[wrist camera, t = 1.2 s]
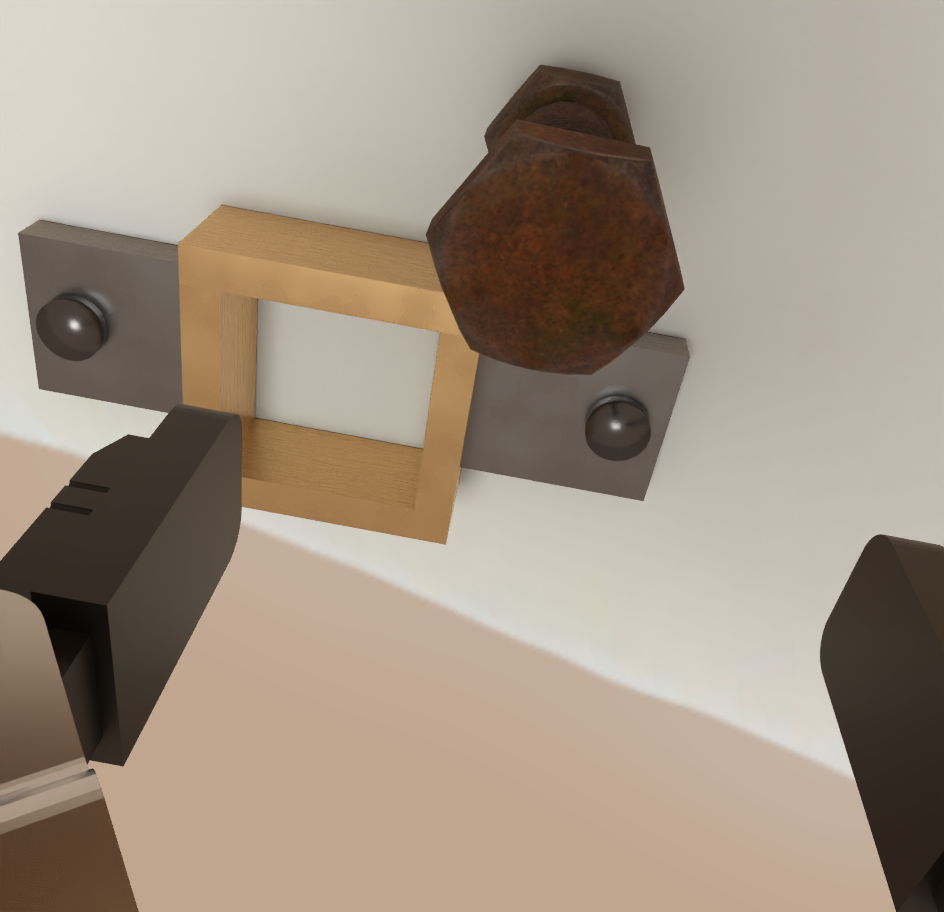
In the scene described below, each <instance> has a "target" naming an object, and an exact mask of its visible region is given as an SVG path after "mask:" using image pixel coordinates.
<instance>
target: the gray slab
mask: <svg viewBox="0 0 944 912" xmlns="http://www.w3.org/2000/svg"><path fill="white" fill-rule="evenodd" d="M18 235H19V242H20V250H21V257H22V265H23V272H24V280H25V287H26V295H27V302H28V310H29V317H30V325H31V332H32V340H33V347H34V355H35V362H36V370H37V377H38V385H39V389H42V390H48V391H53V392H58V393H64V394H69V395H75V396H80V397H85V398H91V399H96V400H102V401H107V402H112V403H118V404H123V405H129V406H134V407H139V408H145V409H150V410H156V411H161V412H166V413H169V412H170V411H171V410H172V408H173V407H174V406H176V405H177V404H183V391H182V359H181V328H180V296H179V264H178V246H177V245H172V244H167V243H161V242H156V241H150V240H145V239H140V238H134V237H129V236H123V235H118V234H112V233H107V232H102V231H96V230H91V229H85V228H80V227H75V226H69V225H64V224H58V223H53V222H47V221H42V220H38V221H37V222H35V223H34V224H32V225H30V226H29V227H27V228H25V229H24V230H22V231H21V232H19V233H18Z"/></svg>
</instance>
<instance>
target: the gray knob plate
mask: <svg viewBox="0 0 944 912" xmlns="http://www.w3.org/2000/svg"><path fill="white" fill-rule="evenodd" d="M689 358H690V356H689V352H688V347H687V343H686V339H681V338H676V337H670V336H665V335H660V334H654V333H649V332H646V333H645V334H644V335H643V336H642V337H641V338H640V339H638V340H637V341H636V342H635V343H634V344H633V345H631V346H630V347H629V348H628V349H627V350H626V351H624V352H623V353H622V354H621V355H620V356H618V357H617V358H616V359H615V360H613V361H612V362H611V363H610V364H608V365H606V366H605V367H603V368H602V369H600V370H598V371H597V372H595V373H594V374H592V375H563V374H553V373H544V372H539V371H534V370H530V369H526V368H522V367H518V366H514V365H510V364H507V363H504V362H500V361H497V360H494V359H492V358H489V357H487V356H485V355H482V354H480V359H479V365H478V371H477V377H476V382H475V388H474V394H473V399H472V405H471V411H470V416H469V422H468V428H467V434H466V439H465V445H464V451H463V456H462V462H461V467H463V468H468V469H474V470H479V471H485V472H490V473H495V474H501V475H506V476H512V477H517V478H522V479H528V480H533V481H538V482H544V483H549V484H555V485H560V486H565V487H571V488H576V489H582V490H587V491H592V492H598V493H603V494H609V495H614V496H619V497H625V498H630V499H636V500H641V501H644V498H645V495H646V491H647V488H648V485H649V482H650V479H651V476H652V473H653V470H654V467H655V463H656V460H657V457H658V454H659V451H660V448H661V445H662V442H663V439H664V435H665V432H666V429H667V426H668V423H669V420H670V417H671V414H672V410H673V407H674V404H675V401H676V398H677V395H678V392H679V389H680V386H681V382H682V379H683V376H684V373H685V370H686V367H687V364H688V361H689Z"/></svg>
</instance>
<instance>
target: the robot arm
mask: <svg viewBox="0 0 944 912" xmlns="http://www.w3.org/2000/svg"><path fill="white" fill-rule="evenodd" d="M241 509H242V422H241V419H240V416H239V415H238V414H234V413H228V412H223V411H217V410H212V409H207V408H201V407H196V406H190V405H185V404H177V405H176V406H174V407H173V408H172V410H171V411H170V412H169V413H168V415H167V416H166V417H165V419H164V420H163V421H162V422H161V424H160V425H159V426H158V428H157V429H156V430H155V431H154V433H153V434H152V435H151V437H150V438H144V437H139V436H134V435H126V436H125V437H123V438H121V439H119V440H117V441H115V442H114V443H112V444H110V445H108V446H106V447H104V448H102V449H101V450H99V451H97V452H95V453H93V454H92V455H91V456H90V457H89V458H88V460H87V461H86V462H85V463H84V464H83V466H82V467H81V468H80V469H79V470H78V471H77V472H76V474H75V475H74V476H73V477H72V478H71V479H70V483H69V486H64V488H63V489H62V490H61V491H60V492H59V493H58V495H57V496H56V497H55V498H54V499H53V501H52V502H51V507H50V508H46V509H45V510H44V511H43V512H42V513H41V514H40V516H39V517H38V518H37V519H36V520H35V521H34V523H33V524H32V525H31V526H30V527H29V529H27V531H26V532H25V533H24V534H23V535H22V536H21V538H20V539H19V540H18V541H17V542H16V543H15V545H14V546H13V547H12V548H11V549H10V551H9V552H8V553H7V554H6V555H5V556H4V557H3V559H2V560H1V561H0V912H139V911H138V908H137V905H136V901H135V898H134V895H133V891H132V888H131V885H130V881H129V878H128V875H127V871H126V868H125V865H124V861H123V858H122V855H121V851H120V848H119V845H118V841H117V838H116V835H115V831H114V828H113V825H112V821H111V818H110V815H109V811H108V808H107V805H106V801H105V798H104V795H103V792H102V788H101V786H100V783H99V780H98V777H97V775H96V773H95V770H94V769H90V770H89V769H88V766H87V764H88V762H89V761H90V760H92V761H97V762H102V763H109V764H114V765H119V766H124V764H125V762H126V760H127V758H128V757H129V755H130V753H131V751H132V749H133V747H134V745H135V743H136V741H137V739H138V737H139V735H140V733H141V731H142V730H143V728H144V726H145V724H146V722H147V720H148V718H149V716H150V714H151V712H152V710H153V708H154V706H155V704H156V702H157V701H158V699H159V696H160V695H161V693H162V691H163V689H164V687H165V685H166V683H167V681H168V679H169V677H170V675H171V673H172V672H173V669H174V668H175V666H176V664H177V662H178V660H179V658H180V656H181V654H182V652H183V650H184V648H185V646H186V644H187V642H188V640H189V639H190V637H191V635H192V633H193V631H194V629H195V627H196V625H197V623H198V621H199V619H200V618H201V616H202V613H203V612H204V610H205V608H206V606H207V604H208V602H209V600H210V598H211V596H212V594H213V592H214V591H215V589H216V587H217V585H218V583H219V581H220V579H221V577H222V575H223V573H224V571H225V569H226V567H227V565H228V563H229V561H230V559H231V557H232V554H233V552H234V548H235V545H236V542H237V538H238V534H239V529H240V522H241ZM820 663H821V669H822V673H823V677H824V680H825V683H826V686H827V690H828V693H829V696H830V699H831V703H832V706H833V709H834V712H835V716H836V719H837V722H838V725H839V728H840V732H841V735H842V738H843V741H844V745H845V748H846V751H847V754H848V758H849V761H850V764H851V767H852V770H853V774H854V777H855V780H856V783H857V787H858V790H859V793H860V796H861V800H862V803H863V806H864V809H865V812H866V815H867V819H868V822H869V825H870V828H871V832H872V835H873V838H874V841H875V845H876V848H877V851H878V854H879V857H880V861H881V864H882V867H883V870H884V874H885V877H886V880H887V883H888V887H889V890H890V893H891V896H892V900H893V903H894V906H895V909H896V912H944V547H943V546H940V545H936V544H931V543H925V542H920V541H915V540H909V539H904V538H898V537H893V536H887V535H881V534H880V535H876V536H874V537H873V538H872V539H871V540H870V541H869V542H868V543H867V545H866V546H865V548H864V550H863V552H862V554H861V556H860V558H859V559H858V561H857V563H856V565H855V567H854V569H853V571H852V573H851V575H850V577H849V579H848V581H847V583H846V585H845V587H844V589H843V591H842V593H841V595H840V597H839V599H838V601H837V603H836V605H835V607H834V608H833V610H832V612H831V614H830V616H829V618H828V620H827V623H826V625H825V628H824V631H823V635H822V640H821V648H820Z"/></svg>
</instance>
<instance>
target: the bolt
mask: <svg viewBox="0 0 944 912" xmlns="http://www.w3.org/2000/svg"><path fill="white" fill-rule="evenodd" d="M484 137H485V141H486V144H487V148H488V152H489V153H488V154H487V155H486V156H485V157H484V159H483V160H482V161H481V162H480V163H479V164H478V166H477V167H476V168H475V169H474V170H473V172H472V173H471V174H470V175H469V176H468V177H467V179H466V180H465V181H464V182H463V183H462V185H461V186H460V187H459V188H458V189H457V190H456V192H455V193H454V194H453V195H452V196H451V197H450V199H449V200H448V201H447V202H446V203H445V205H444V206H443V207H442V208H441V209H440V210H439V212H438V213H437V214H436V215H435V216H434V217H433V219H432V221H431V223H430V226H429V228H428V230H427V233H426V237H427V241H428V244H429V248H430V252H431V256H432V259H433V263H434V266H435V269H436V272H437V275H438V279H439V282H440V285H441V287H442V290H443V292H444V295H445V297H446V299H447V302H448V304H449V307H450V309H451V311H452V314H453V316H454V318H455V321H456V323H457V325H458V328H459V330H460V332H461V334H462V336H463V337H464V339H465V341H466V343H467V344H468V346H469V348H470V350H473V351H475V352H477V353H480V354H482V355H485V356H487V357H489V358H492V359H494V360H497V361H500V362H504V363H507V364H510V365H514V366H518V367H522V368H526V369H530V370H534V371H539V372H544V373H553V374H563V375H592V374H594V373H595V372H597V371H598V370H600V369H602V368H603V367H605V366H606V365H608V364H610V363H611V362H612V361H613V360H615V359H616V358H617V357H618V356H620V355H621V354H622V353H623V352H624V351H626V350H627V349H628V348H629V347H630V346H631V345H633V344H634V343H635V342H636V341H637V340H638V339H640V338H641V337H642V336H643V335H644V334H645V333H646V332H647V331H649V329H650V328H651V327H652V326H653V325H654V324H655V323H656V322H657V321H658V320H659V319H660V318H661V317H662V316H663V315H664V313H665V312H666V311H667V310H668V309H669V308H670V306H671V305H672V304H673V303H674V301H675V300H676V299H677V298H678V297H679V295H680V294H681V293H682V292H683V290H684V284H683V280H682V275H681V271H680V266H679V262H678V258H677V254H676V250H675V246H674V242H673V238H672V234H671V230H670V226H669V222H668V218H667V214H666V209H665V205H664V201H663V197H662V193H661V189H660V185H659V181H658V177H657V173H656V169H655V165H654V161H653V157H652V154H651V150H650V147H645V146H640V145H636V144H635V140H634V136H633V132H632V128H631V124H630V120H629V116H628V112H627V108H626V104H625V100H624V96H623V93H622V89H621V85H620V82H618V81H615V80H612V79H608V78H605V77H601V76H597V75H593V74H589V73H585V72H580V71H575V70H570V69H565V68H559V67H552V66H545V65H540V66H539V67H538V68H537V69H536V70H535V71H534V72H533V74H532V75H531V76H530V77H529V78H528V79H527V80H526V81H525V83H524V84H523V85H522V86H521V87H520V88H519V90H518V91H517V92H516V93H515V94H514V96H513V97H512V98H511V99H510V100H509V102H508V103H507V104H506V105H505V107H504V108H503V109H502V110H501V111H500V113H499V114H498V115H497V117H496V118H495V119H494V120H493V122H492V123H491V124H490V126H489V127H488V128H487V131H486V133H485V136H484Z"/></svg>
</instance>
